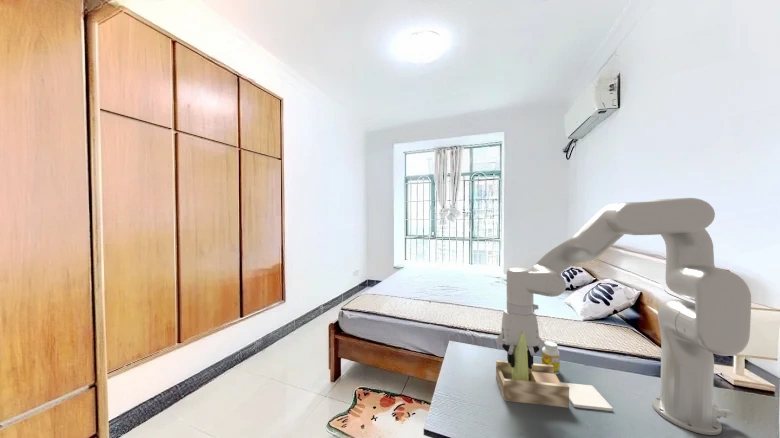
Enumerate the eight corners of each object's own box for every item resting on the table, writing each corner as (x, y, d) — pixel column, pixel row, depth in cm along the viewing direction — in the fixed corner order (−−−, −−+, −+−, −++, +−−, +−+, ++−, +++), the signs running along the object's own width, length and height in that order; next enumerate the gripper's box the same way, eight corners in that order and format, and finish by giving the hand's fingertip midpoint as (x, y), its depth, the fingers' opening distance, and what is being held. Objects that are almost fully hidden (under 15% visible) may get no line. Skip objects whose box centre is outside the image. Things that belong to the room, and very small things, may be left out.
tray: (552, 383, 86) (552, 365, 86) (569, 407, 76) (569, 387, 75) (495, 377, 89) (496, 360, 89) (504, 400, 78) (504, 380, 78)
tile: (592, 387, 84) (592, 385, 84) (612, 411, 74) (613, 408, 74) (557, 384, 86) (557, 382, 86) (573, 406, 76) (573, 404, 76)
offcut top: (554, 381, 84) (554, 373, 84) (562, 394, 78) (562, 386, 78) (530, 378, 86) (530, 370, 86) (536, 391, 80) (536, 382, 79)
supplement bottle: (563, 374, 91) (563, 347, 91) (547, 375, 91) (548, 347, 90) (552, 365, 96) (553, 339, 96) (538, 366, 96) (538, 340, 96)
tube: (534, 390, 82) (533, 327, 81) (525, 396, 79) (524, 332, 79) (516, 380, 87) (516, 321, 86) (507, 386, 84) (507, 325, 83)
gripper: (544, 305, 85) (544, 361, 85) (489, 302, 87) (489, 357, 88) (554, 313, 77) (554, 375, 78) (494, 311, 80) (494, 370, 80)
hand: (520, 365), depth 83 cm, fingers closed on tube, 4 cm apart
